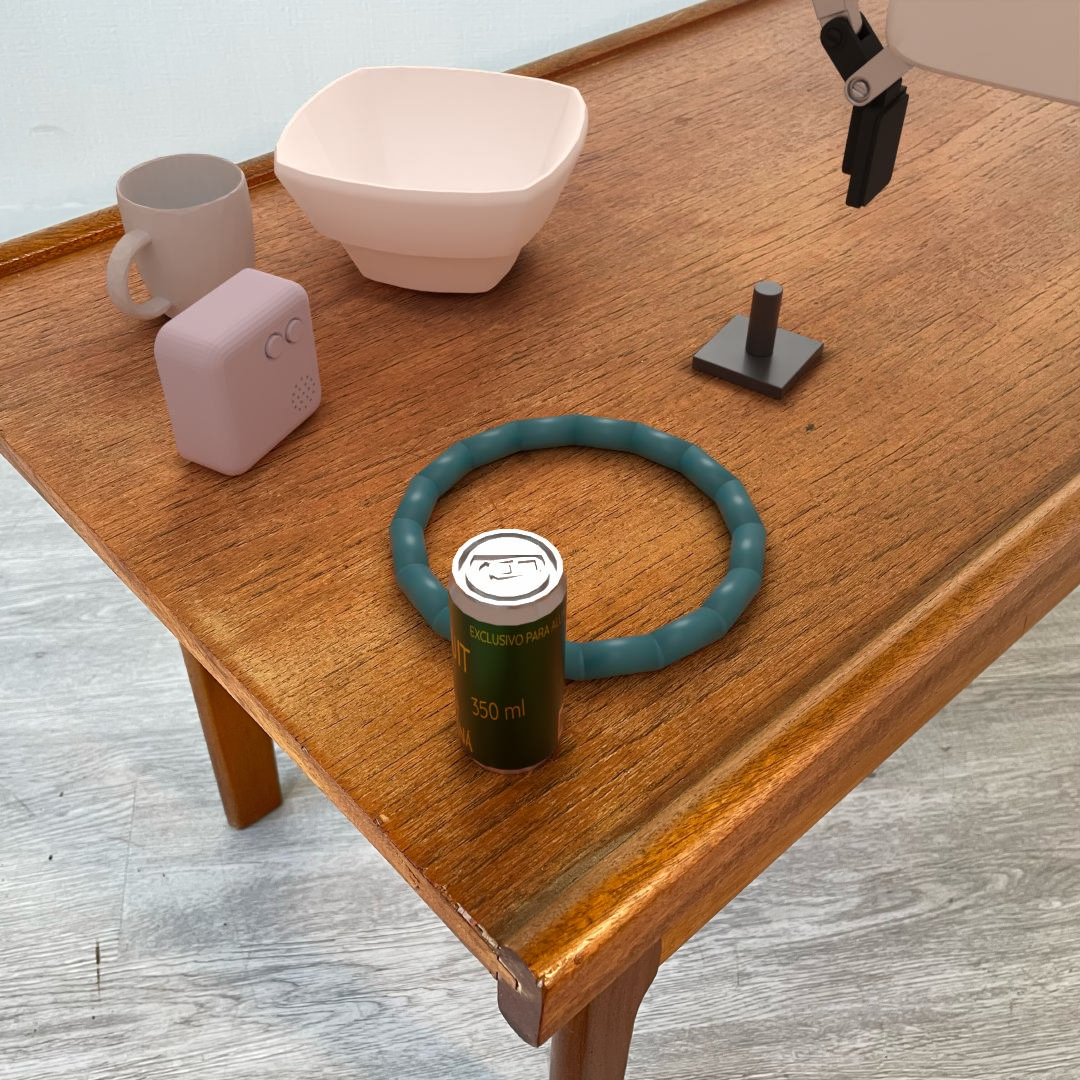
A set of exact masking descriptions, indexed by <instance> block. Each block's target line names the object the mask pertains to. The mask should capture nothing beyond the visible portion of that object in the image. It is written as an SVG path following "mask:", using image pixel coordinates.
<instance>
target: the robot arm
mask: <svg viewBox="0 0 1080 1080" xmlns="http://www.w3.org/2000/svg"><path fill="white" fill-rule="evenodd" d="M859 1H860V0H811V3H812V5H813V9H814V14H815V17H816V20H818V21H819V24H820V25H819V26H820V28H821V29H820V33H819V40H820V43H821V46H822V48H823V50H824V51H825V52H826V54H827V56H828V57H829V60H830V61H831V62H832V64H833V66H834V67H835V69H836V71H837V72H838V74H839V76H840V77H841V78H842V80H843V82H844V85H843V95H844V97H845V99H846V101H847V102H848V103H849V104H851V105H852V109H851V114H850V115H851V116H850V120H849V125H848V131H847V136H846V141H845V148H844V152H843V157H842V162H841V172H842V174H844V175H848V176H850V177H849V180H848V187H847V192H846V197H845V205H846V206H847V207H851V208H854V209H857V210H859V209H861V208H862V207H864V208H865V207H866V206H868V205H869V204H870V203H871V202H872V201H873V200H874V199H875V198H876V197H877V196H878V195H879V194H880V193H881V192H882V191H883V190H884V189H885V188H886V187H887V186H888V185H889V184H890V183H891V180H892V177H893V174H894V170H895V166H896V165H895V164H896V160H897V155H898V151H899V147H900V146H899V145H900V141H901V137H902V131H903V127H904V123H905V118H906V114H907V109H908V104H909V100H910V93H907V90H908V86H907V85H903V80H904V79H903V76H904V75H906V74H907V73H908V72H909V71H911V70H912V69H913V68H917V69H920V70H923V71H926V72H930V73H932V74H937V75H940V76H944V77H949V78H953V79H957V80H961V81H966V82H969V83H973V84H977V85H981V86H985V87H990V88H995V89H998V90H1002V91H1007V92H1011V93H1015V94H1020V95H1024V96H1028V97H1033V98H1037V99H1041V100H1046V101H1050V102H1055V103H1059V104H1063V105H1067V106H1071V107H1072V106H1073V107H1077V108H1080V0H888V4H887V11H886V19H885V29H884V31H885V33H884V34H885V41H886V46H885V47H884V46H883V44H882V42H881V41H880V39H879V37H878V36H877V34H876V32H875V31H874V29H873V28H872V26H871V23H870V22H869V21H868V19H867V18H866V16H865V14H864V13H863V12H862V11H861V10H860V8H859V7H860V6H859Z"/></svg>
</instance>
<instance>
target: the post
mask: <svg viewBox="0 0 1080 1080" xmlns="http://www.w3.org/2000/svg"><path fill="white" fill-rule="evenodd" d="M783 295H784V288H783V286H782V285H781V284H780V283H778V282H776V281H771V280H761V281H758V282H756V283H755V284H754V287H753V292H752V299H751V304H750V305H751V306H750V310H749V316H748V315H747V316H746V315H744V314H741V313H737V314H736V315H735V316H734V317H733V318H731V319H730V320H729V322H727V323H726V324H725V325H724V326H723V327H722V328H721V329H720V330H719V331H718V332H717V333H716V334H714V336H712V337H711V339H709V340H708V341H707V342H706V343H705V344H704V345H703V346H702V347H701V348H700V349H699V350H698V351H697V352H696V353H695V354H693V356H692V361H691V368H692V369H695V370H698V371H700V372H703V373H704V374H705V373H706V374H708V375H711V376H713V377H717V378H719V379H722V380H725V381H727V382H729V383H733V384H735V385H738V386H741V387H744V388H746V389H749V390H752V391H754V392H757V393H760V394H763V395H765V396H767V397H770V398H774V399H776V400H779V401H781V400H782V399H783V398H784V397H785V396H786V395H787V393H788V392H789V391H790V390H791V389H792V388H793V386H794V385H796V383H797V382H798V381H799V380H800V379H801V378H802V377H803V376H804V375H805V373H806V372H807V371H808V370H809V369H810V368H811V367H812V366H813V365H814V363H816V362H817V360H819V358H820V357H821V356H822V355H823V351H824V346H825V343H824V342H822V341H819V340H817V339H813V338H811V337H809V336H805V335H802V334H799V333H796V332H793V331H791V330H789V329H788V330H787V329H784V328H781V327H779V326H778V325H779V319H780V312H781V306H782V299H783Z"/></svg>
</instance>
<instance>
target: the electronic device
mask: <svg viewBox="0 0 1080 1080" xmlns="http://www.w3.org/2000/svg"><path fill="white" fill-rule="evenodd" d="M153 354H154V355H153V356H154V359H155V363H156V367H157V371H158V376H159V380H160V384H161V388H162V392H163V395H164V400H165V404H166V408H167V412H168V417H169V420H170V425H171V429H172V432H173V436H174V440H175V445H176V449H177V452H178V454H179V456H180V457H181V458H182V459H184V460H187V461H190V462H191V463H195V464H197V465H200V466H202V467H205V468H207V469H210V470H213V471H215V472H218V473H220V474H223V475H226V476H231V477H234V476H240V475H242V474H245V473H246V472H247V471H249V470H250V469H251V468H252V467H253V466H254V465H255V464H257V463H258V462H259V461H260V460H261V459H262V458H264V457H265V456H266V455H267V454H268V453H269V452H270V451H271V450H272V449H274V448H275V447H276V446H277V445H279V443H281V442H282V441H283V440H284V439H285V438H286V437H288V436H289V435H290V434H291V433H292V432H293V431H295V429H297V428H298V427H299V426H300V425H302V423H304V422H305V421H306V420H307V419H308V418H310V417H311V416H312V415H313V414H314V413H315V412H316V411H317V410H318V408H319V406H320V404H321V401H322V386H321V379H320V371H319V365H318V357H317V350H316V342H315V336H314V328H313V320H312V313H311V306H310V301H309V296H308V293H307V291H306V289H305V288H304V287H303V286H302V285H301V284H299V283H298V282H295V281H294V280H291V279H288V278H284V277H280V276H277V275H274V274H271V273H268V272H265V271H261V270H258V269H256V268H255V269H252V268H246V269H244V270H242V271H240V272H239V273H237V274H236V275H235V276H233V277H232V278H230V279H229V280H227V281H226V282H224V283H223V284H222V285H220V286H219V287H217V288H216V289H214V290H213V291H212V292H210V293H209V294H207V295H206V296H204V297H203V298H202V299H200V300H199V301H197V302H196V303H194V304H193V305H192V306H190V307H189V308H187V309H186V310H184V311H183V312H182V313H180V314H179V315H177V316H176V317H174V318H173V319H172V318H171V319H170V320H169V321H167V322H166V323H164V325H162V327H161V328H160V329H159V330H158V332H157V334H156V337H155V340H154V345H153Z"/></svg>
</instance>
